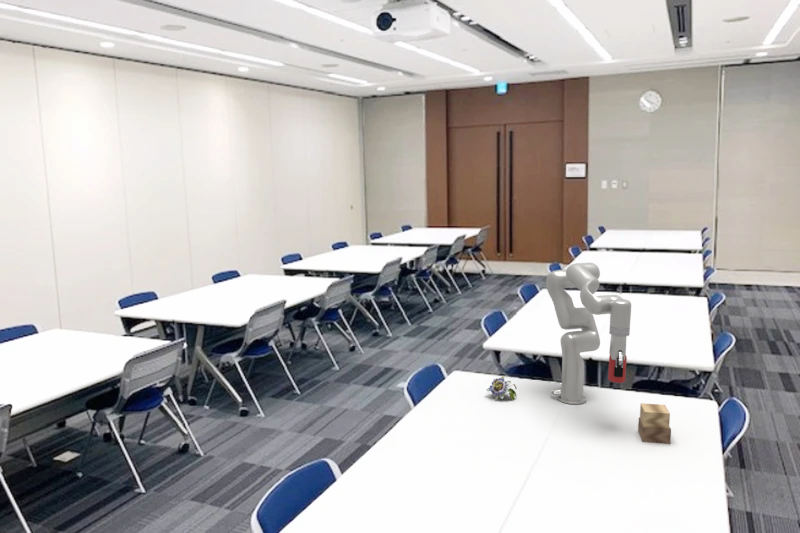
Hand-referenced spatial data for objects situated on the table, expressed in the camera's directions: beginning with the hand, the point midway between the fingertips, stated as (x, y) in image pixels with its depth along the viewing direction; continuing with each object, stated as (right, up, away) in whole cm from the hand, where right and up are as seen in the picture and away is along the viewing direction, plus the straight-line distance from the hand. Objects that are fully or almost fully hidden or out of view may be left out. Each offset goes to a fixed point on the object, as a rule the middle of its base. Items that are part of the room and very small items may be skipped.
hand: (616, 373), depth 249 cm
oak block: (+12, -18, -8) cm, 23 cm away
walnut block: (+12, -24, -7) cm, 28 cm away
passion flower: (-40, -18, +37) cm, 57 cm away
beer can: (0, -3, +1) cm, 3 cm away
